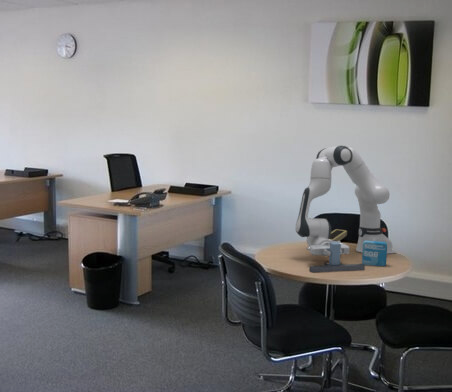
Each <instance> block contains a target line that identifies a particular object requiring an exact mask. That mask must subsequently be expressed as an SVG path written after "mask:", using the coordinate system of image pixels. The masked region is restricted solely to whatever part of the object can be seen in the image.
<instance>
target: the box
mask: <svg viewBox="0 0 452 392" xmlns="http://www.w3.org/2000/svg"><path fill="white" fill-rule="evenodd" d="M347 236H348V231H347V230H345V229H338V228H336V229H334V230H332V231H331V235H330V237H329V239H330V240H337V241H341V240H343V239H344V238H345V237H347Z"/></svg>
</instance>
